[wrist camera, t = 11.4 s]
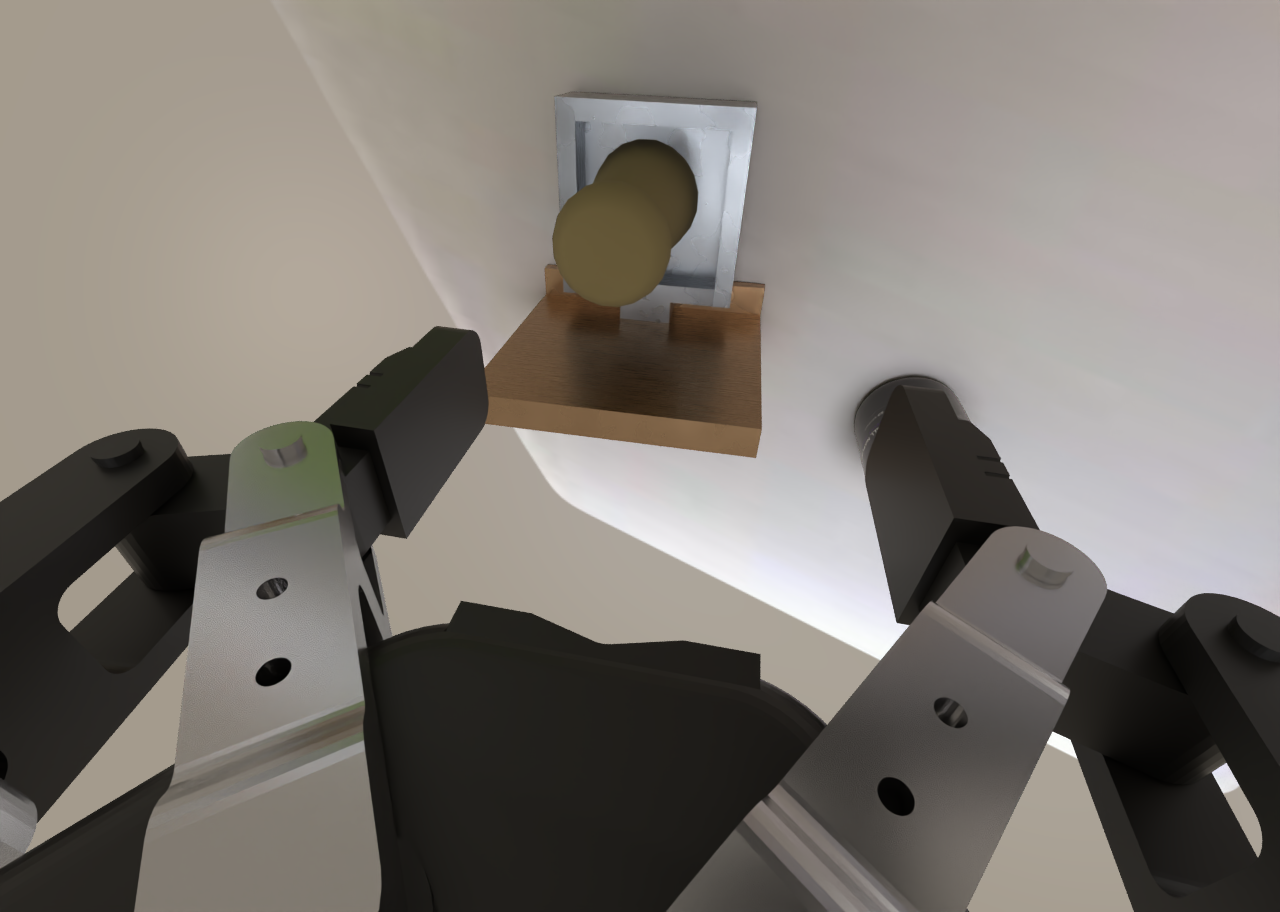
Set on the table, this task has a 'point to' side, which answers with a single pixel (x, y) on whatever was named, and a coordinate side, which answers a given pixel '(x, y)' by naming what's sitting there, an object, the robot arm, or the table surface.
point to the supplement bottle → (877, 403)
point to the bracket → (647, 299)
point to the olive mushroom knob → (625, 223)
